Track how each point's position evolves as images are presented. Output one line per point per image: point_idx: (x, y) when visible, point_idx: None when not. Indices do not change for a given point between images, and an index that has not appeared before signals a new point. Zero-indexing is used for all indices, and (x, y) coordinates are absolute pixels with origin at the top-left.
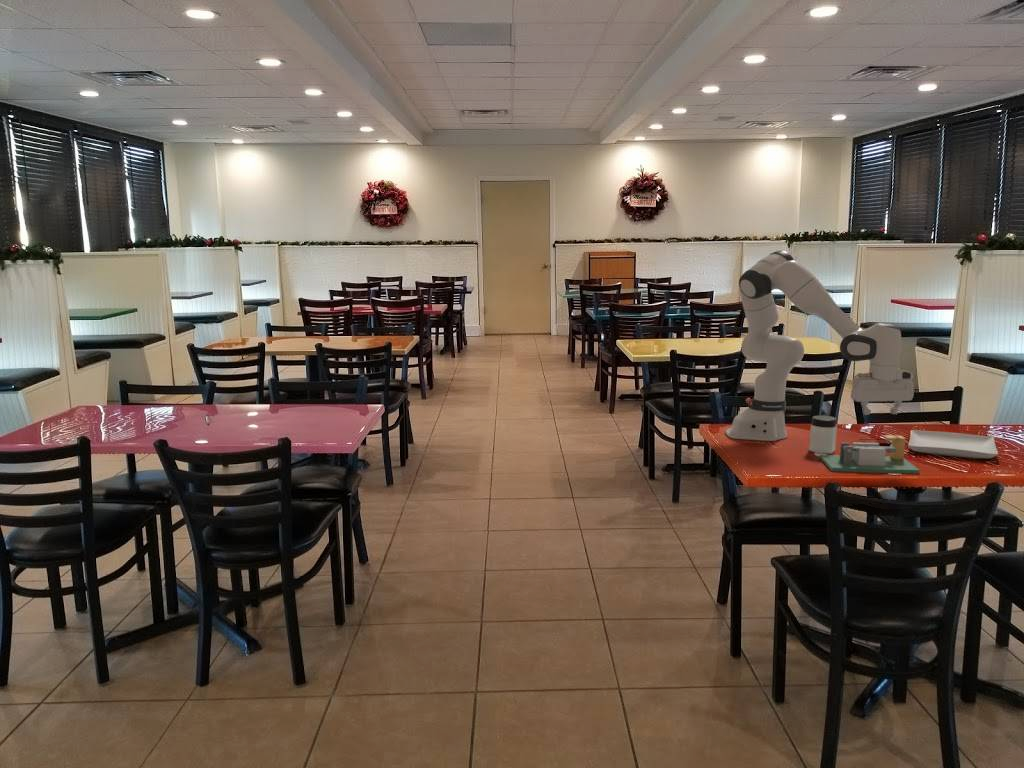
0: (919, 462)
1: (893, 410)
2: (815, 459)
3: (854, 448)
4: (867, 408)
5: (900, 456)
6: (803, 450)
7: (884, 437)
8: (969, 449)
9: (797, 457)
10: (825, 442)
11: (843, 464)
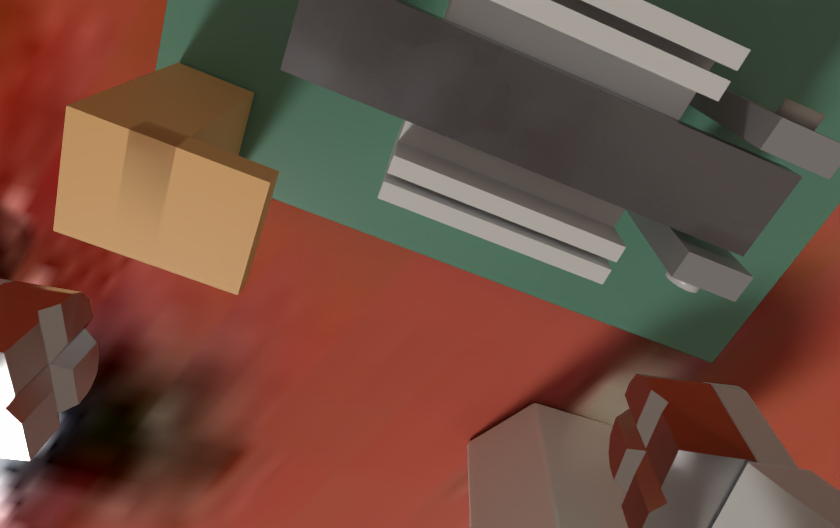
0: (41, 46)
1: (29, 335)
2: (754, 329)
3: (718, 139)
4: (807, 490)
5: (195, 80)
6: None
7: (250, 260)
8: None
9: (822, 395)
10: (596, 473)
11: (787, 86)
